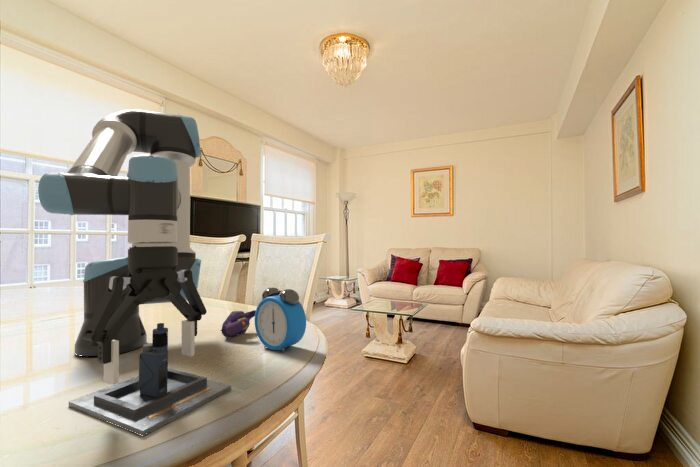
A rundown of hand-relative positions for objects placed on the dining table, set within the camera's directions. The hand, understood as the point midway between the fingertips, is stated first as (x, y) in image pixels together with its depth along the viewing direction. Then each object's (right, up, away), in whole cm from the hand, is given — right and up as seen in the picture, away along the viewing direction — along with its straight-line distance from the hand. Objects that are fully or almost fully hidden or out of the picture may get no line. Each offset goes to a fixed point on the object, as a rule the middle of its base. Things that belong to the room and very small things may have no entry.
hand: (153, 367), depth 58 cm
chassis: (0, -5, 0) cm, 5 cm away
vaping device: (0, -5, 0) cm, 5 cm away
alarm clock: (+17, -6, +26) cm, 32 cm away
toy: (+2, -6, +39) cm, 39 cm away
